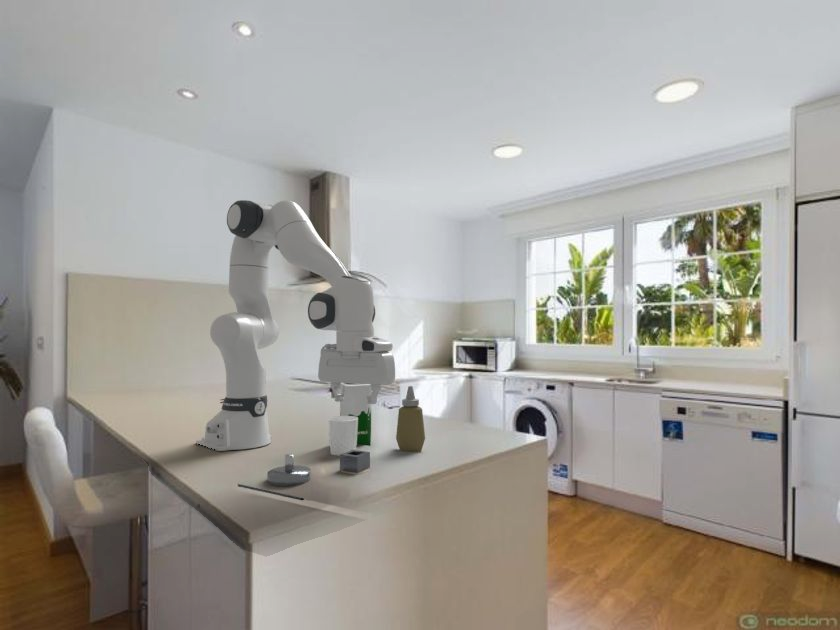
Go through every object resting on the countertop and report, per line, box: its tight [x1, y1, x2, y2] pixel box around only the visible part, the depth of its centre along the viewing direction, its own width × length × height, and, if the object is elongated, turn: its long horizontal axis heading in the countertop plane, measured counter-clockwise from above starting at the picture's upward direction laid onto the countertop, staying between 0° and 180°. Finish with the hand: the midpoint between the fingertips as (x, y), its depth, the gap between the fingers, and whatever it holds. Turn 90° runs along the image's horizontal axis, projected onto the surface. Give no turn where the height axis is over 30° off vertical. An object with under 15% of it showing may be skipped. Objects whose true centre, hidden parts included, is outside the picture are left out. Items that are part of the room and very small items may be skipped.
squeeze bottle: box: [395, 385, 426, 453], centre depth 125 cm, size 8×8×18 cm
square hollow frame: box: [339, 449, 371, 474], centre depth 106 cm, size 5×5×4 cm
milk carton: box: [339, 383, 372, 447], centre depth 133 cm, size 9×9×20 cm
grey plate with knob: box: [237, 453, 312, 501], centre depth 98 cm, size 18×12×6 cm, turn 62°
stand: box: [339, 467, 371, 475], centre depth 106 cm, size 7×7×4 cm
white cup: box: [327, 415, 358, 457], centre depth 121 cm, size 8×8×10 cm
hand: (355, 402), depth 106 cm, fingers open, 8 cm apart
